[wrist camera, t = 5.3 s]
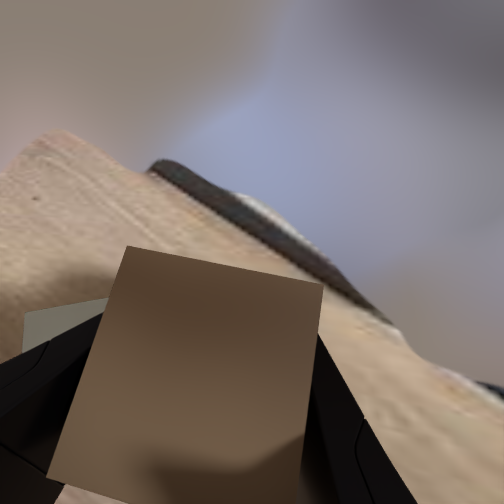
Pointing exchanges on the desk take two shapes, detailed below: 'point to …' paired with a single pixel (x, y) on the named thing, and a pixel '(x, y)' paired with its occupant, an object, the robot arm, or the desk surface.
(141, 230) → the desk surface
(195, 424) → the walnut block
